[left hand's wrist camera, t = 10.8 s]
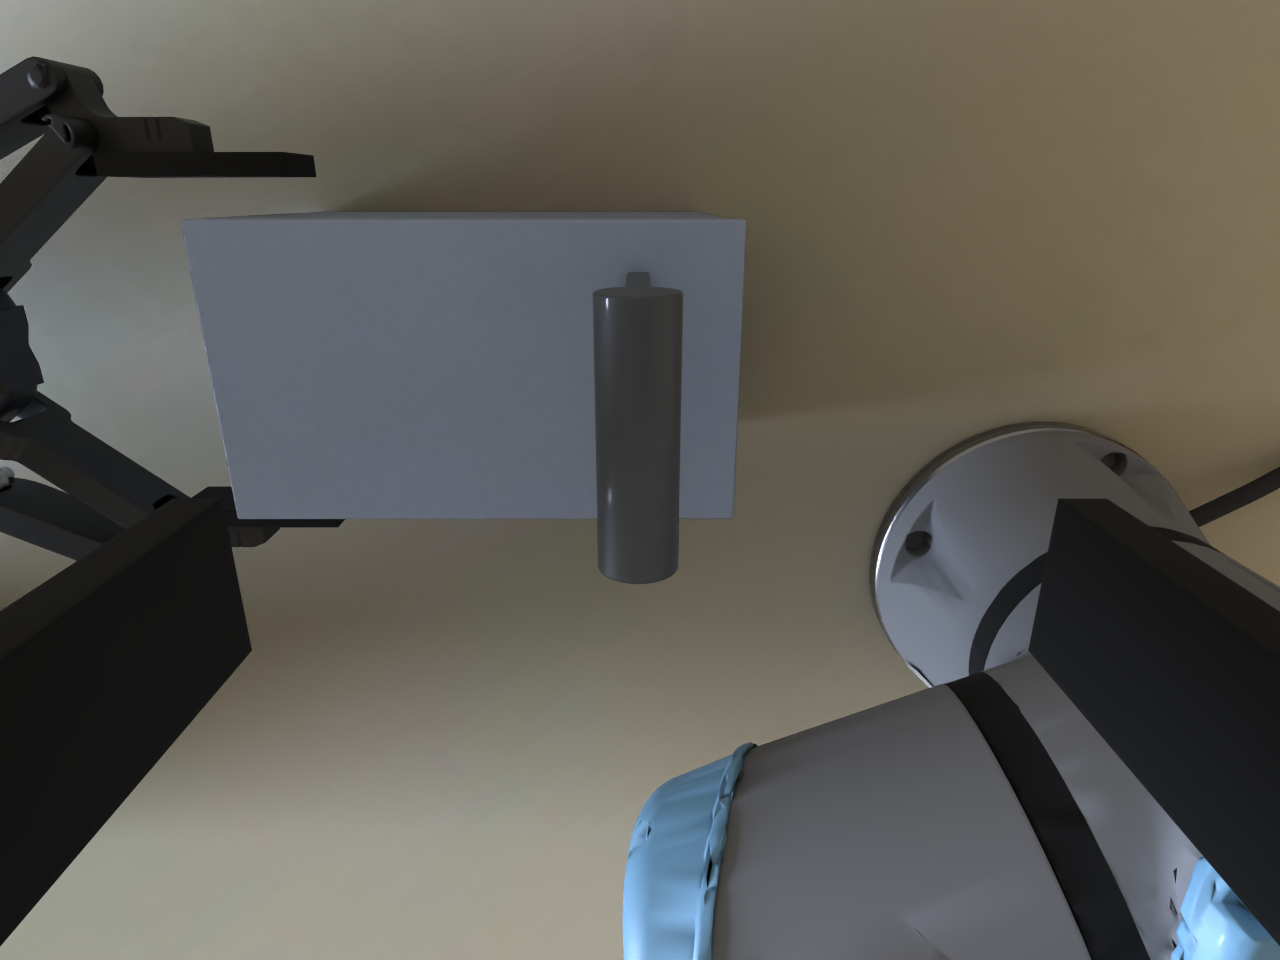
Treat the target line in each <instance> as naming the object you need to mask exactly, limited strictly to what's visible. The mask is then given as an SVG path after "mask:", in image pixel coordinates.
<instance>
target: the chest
mask: <svg viewBox="0 0 1280 960" xmlns="http://www.w3.org/2000/svg"><path fill="white" fill-rule="evenodd" d="M204 219H724V218H720V217H717V216H713V215H710V214H707V213H703V212H307V213H290V214H272V215H255V216H237V217H219V218H204Z"/></svg>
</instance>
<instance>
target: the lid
mask: <svg viewBox="0 0 1280 960" xmlns="http://www.w3.org/2000/svg"><path fill="white" fill-rule="evenodd" d="M181 225H182V231H183V236H184V241H185V246H186V251H187V257H188V262H189V267H190V272H191V277H192V283H193V288H194V293H195V298H196V304H197V309H198V314H199V319H200V324H201V330H202V335H203V340H204V345H205V350H206V356H207V361H208V366H209V371H210V376H211V382H212V387H213V392H214V397H215V402H216V408H217V413H218V418H219V423H220V428H221V434H222V439H223V444H224V449H225V454H226V460H227V465H228V470H229V475H230V480H231V486H232V491H233V496H234V501H235V507H236V512H237V517H238V519H597V532H598V567H599V570H600V571H601V573H602V574H603V575H605V576H606V577H608V578H610V579H612V580H615V581H618V582H622V583H629V584H647V583H654V582H658V581H661V580H664V579H667V578H669V577H670V576H672V575H673V574H674V573H675V572H676V570H677V568H678V547H679V519H731V518H733V513H734V490H735V468H736V445H737V423H738V400H739V378H740V355H741V333H742V311H743V288H744V266H745V243H746V220H743V219H186V220H182V221H181Z"/></svg>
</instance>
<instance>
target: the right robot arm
mask: <svg viewBox="0 0 1280 960" xmlns="http://www.w3.org/2000/svg"><path fill="white" fill-rule="evenodd" d="M102 95H103V84H102V82H101V80H100V78H99V77H98V75H97V74H96V73H95V72H93V71H92V70H90V69H88V68H83V67H79V66H75V65H70V64H66V63H61V62H57V61H53V60H48V59H44V58H39V57H30V58H27V59H25V60H23V61H22V62H20V63H19V64H17V65H15V66H14V67H12V68H10V69H9V70H7V71H5V72H4V73H2V74H0V160H1V159H2V158H4V157H6V156H7V155H9V154H11V153H12V152H14V151H16V150H18V149H19V148H21V147H23V146H24V145H26V144H28V143H29V142H31V141H33V140H35V139H36V138H38V137H40V136H41V135H43V134H44V135H43V137H42V138H41V139H40V140H39V141H38V142H37V143H36V144H35V146H34V147H33V148H32V149H31V150H30V151H29V152H28V153H27V155H26V156H25V157H24V158H23V159H22V160H21V161H20V162H19V164H18V165H17V166H16V167H15V168H14V169H13V170H12V171H11V172H10V174H9V175H8V176H7V177H6V178H5V179H4V180H3V181H2V183H1V184H0V459H2V460H13V461H17V462H19V463H20V464H22V465H24V466H25V467H27V468H28V469H30V470H32V471H33V472H35V473H37V474H38V475H40V476H41V477H43V478H45V479H46V480H48V481H49V482H51V483H53V484H54V485H56V486H57V487H59V488H61V489H62V490H64V491H65V492H67V493H69V494H67V493H65V492H62V491H60V490H57V489H55V488H52V487H49V486H47V485H44V484H41V483H38V482H35V481H30V480H26V479H20V478H14V472H13V470H12V469H11V468H9V467H2V468H0V532H2V533H5V534H8V535H10V536H13V537H16V538H18V539H21V540H24V541H26V542H29V543H32V544H34V545H37V546H39V547H42V548H45V549H47V550H50V551H53V552H55V553H58V554H61V555H63V556H66V557H69V558H71V559H74V560H77V561H78V560H80V559H81V558H83V557H84V556H86V555H87V554H89V553H90V552H92V551H93V550H95V549H97V548H98V547H100V546H101V545H103V544H104V543H106V542H107V541H109V540H110V539H112V538H113V537H115V536H116V535H118V534H120V533H121V532H123V531H124V530H126V529H127V528H129V527H130V526H132V525H133V524H135V523H136V522H138V521H139V520H141V519H142V518H144V517H146V516H147V515H149V514H150V513H152V512H153V511H155V510H156V509H158V508H159V507H161V506H162V505H164V504H165V503H167V502H169V501H170V500H172V499H222V502H223V507H224V512H225V517H226V522H227V527H228V532H229V537H230V543H231V547H240V546H241V547H255V546H258V545H260V544H263V543H265V542H266V541H268V540H269V539H270V538H271V537H272V536H273V535H274V534H275V533H276V532H277V531H278V530H279V529H280V527H339V526H340V524H341V523H342V522H343V521H344V520H345V519H238V517H237V512H236V507H235V501H234V496H233V491H232V487H207V488H205V489H204V490H202V491H201V492H200V493H198V494H197V495H195V496H194V497H192V498H190V497H188V496H187V495H185V494H184V493H182V492H180V491H179V490H177V489H176V488H174V487H173V486H171V485H170V484H168V483H166V482H165V481H163V480H162V479H160V478H159V477H157V476H156V475H154V474H152V473H151V472H149V471H148V470H146V469H145V468H143V467H142V466H140V465H138V464H137V463H135V462H134V461H132V460H131V459H129V458H128V457H126V456H124V455H123V454H121V453H120V452H118V451H117V450H115V449H114V448H112V447H110V446H109V445H107V444H106V443H104V442H103V441H101V440H100V439H98V438H96V437H95V436H93V435H92V434H90V433H89V432H87V431H86V430H84V429H82V428H81V427H79V426H78V425H76V424H75V423H73V422H72V421H71V414H70V413H69V412H68V411H67V410H66V409H65V408H63V407H61V406H60V405H58V404H57V403H55V402H54V401H52V400H51V399H49V398H48V397H46V396H44V395H43V394H41V393H40V392H38V391H37V385H38V384H41V383H44V381H43V377H42V373H41V369H40V366H39V363H38V361H37V359H36V358H35V356H34V354H33V352H32V350H31V348H30V346H29V341H28V321H27V318H26V314H25V310H24V307H23V305H22V306H16V305H15V303H14V302H13V300H12V299H11V297H10V296H9V295H8V294H7V293H8V291H9V290H10V289H11V288H12V287H13V286H14V285H15V284H16V283H17V282H18V281H19V280H20V279H21V278H22V277H23V275H24V274H25V273H26V272H27V271H28V270H29V269H30V267H31V265H32V264H31V263H30V259H31V258H32V257H33V256H34V255H35V254H36V253H37V252H38V250H39V249H40V248H41V247H42V246H43V245H44V244H45V243H46V242H47V241H48V240H49V239H50V238H51V237H52V235H53V234H54V233H55V232H56V231H57V230H58V229H59V228H60V227H61V226H62V225H63V224H64V223H65V221H66V220H67V219H68V218H69V217H70V216H71V215H72V214H73V213H74V212H75V211H76V210H77V209H78V208H79V206H80V205H81V204H82V203H83V202H84V201H85V200H86V199H87V198H88V197H89V196H90V195H91V194H92V193H93V191H94V190H95V189H96V188H97V187H98V186H99V185H100V184H101V183H102V182H103V181H104V180H105V179H106V177H107V176H109V177H140V178H191V177H316V171H315V164H314V157H313V156H312V155H304V154H295V153H287V152H214V148H213V143H212V137H211V131H210V127H209V126H207V125H205V124H202V123H200V122H197V121H194V120H188V119H182V118H176V117H117V116H116V115H114V114H113V113H112V112H111V111H110V109H109V108H108V106H107V105H106V103H105V101H104V99H103V98H102ZM16 416H18V417H19V418H21V420H18V421H15V422H10V421H11V420H12V419H13V418H15V417H16ZM9 422H10V423H9Z"/></svg>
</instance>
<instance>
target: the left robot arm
mask: <svg viewBox="0 0 1280 960" xmlns="http://www.w3.org/2000/svg"><path fill="white" fill-rule="evenodd" d="M1279 488H1280V467H1278V468H1277V469H1275V470H1273V471H1271V472H1269V473H1267V474H1265V475H1263V476H1262V477H1260V478H1258V479H1256V480H1254V481H1252V482H1250V483H1248V484H1246V485H1244V486H1242V487H1240V488H1238V489H1236V490H1234V491H1232V492H1230V493H1227V494H1225V495H1223V496H1221V497H1219V498H1217V499H1215V500H1213V501H1210V502H1208V503H1206V504H1204V505H1202V506H1200V507H1198V508H1196V509H1193V510H1191V511H1189V512H1188V510H1187V509H1186V507H1185V505H1184V504H1183V502H1182V501H1181V499H1180V498H1179V496H1178V495H1177V493H1176V491H1175V490H1174V488H1173V487H1172V486H1171V484H1170V483H1169V482H1168V481H1167V479H1166V478H1165V477H1164V476H1163V475H1162V474H1161V473H1160V472H1159V471H1158V470H1156V469H1155V468H1154V467H1153V466H1152V465H1151V464H1150V463H1148V462H1147V461H1146V460H1145V459H1144V458H1143V457H1141V456H1140V455H1139V454H1137V453H1136V452H1135V451H1133V450H1131V449H1130V448H1128V447H1126V446H1124V445H1123V444H1121V443H1119V442H1117V441H1115V440H1113V439H1111V438H1109V437H1107V436H1105V435H1103V434H1101V433H1098V432H1096V431H1093V430H1090V429H1087V428H1084V427H1080V426H1076V425H1071V424H1065V423H1055V422H1031V423H1020V424H1015V425H1009V426H1004V427H1001V428H997V429H993V430H990V431H987V432H984V433H981V434H979V435H976V436H974V437H971V438H969V439H967V440H965V441H963V442H961V443H959V444H957V445H955V446H954V447H952V448H950V449H949V450H947V451H945V452H944V453H942V454H941V455H940V456H938V457H937V458H935V459H934V460H933V461H931V462H930V463H929V464H928V465H926V466H925V467H924V468H923V469H922V470H921V471H920V472H919V473H918V474H917V475H916V476H915V477H914V478H913V479H911V480H910V482H909V483H908V484H907V485H906V486H905V488H904V489H903V490H902V491H901V492H900V494H899V495H898V497H897V498H896V499H895V501H894V502H893V504H892V505H891V507H890V509H889V510H888V512H887V514H886V516H885V518H884V520H883V522H882V524H881V526H880V529H879V531H878V534H877V537H876V540H875V543H874V547H873V552H872V556H871V564H870V589H871V596H872V601H873V605H874V609H875V611H876V614H877V617H878V619H879V622H880V624H881V626H882V628H883V630H884V631H885V633H886V635H887V637H888V639H889V640H890V642H891V644H892V645H893V647H894V648H895V650H896V651H897V653H898V654H899V655H900V656H901V658H902V659H903V660H904V661H905V662H906V663H907V664H908V665H907V664H906V663H905V664H906V665H907V666H908V667H909V668H910V669H911V670H912V671H913V672H914V673H915V674H916V675H917V676H918V677H919V678H920V679H921V680H922V681H923V682H924V683H925V684H926V685H927V686H928V687H929V688H928V689H925V690H922V691H919V692H916V693H913V694H910V695H908V696H905V697H902V698H899V699H896V700H893V701H890V702H887V703H884V704H881V705H878V706H875V707H872V708H869V709H866V710H863V711H861V712H858V713H855V714H852V715H849V716H846V717H843V718H840V719H837V720H834V721H831V722H828V723H825V724H822V725H819V726H816V727H813V728H811V729H808V730H805V731H802V732H799V733H796V734H793V735H790V736H787V737H784V738H781V739H778V740H775V741H772V742H769V743H766V744H763V745H761V746H757V745H756V744H753V743H751V742H749V743H746V744H743V745H741V746H740V747H738V748H737V749H736V750H735V752H734V753H733V754H732V755H730V756H727V757H725V758H722V759H720V760H717V761H715V762H712V763H710V764H707V765H705V766H702V767H700V768H697V769H695V770H692V771H690V772H687V773H685V774H682V775H680V776H677V777H675V778H673V779H671V780H669V781H667V782H665V783H664V784H663V785H661V786H660V787H659V788H658V789H657V790H656V791H655V792H654V793H653V794H652V795H651V796H650V797H649V799H648V800H647V802H646V803H645V805H644V807H643V808H642V810H641V812H640V814H639V816H638V819H637V821H636V824H635V827H634V830H633V834H632V837H631V842H630V847H629V854H628V862H627V865H626V871H625V881H624V897H623V947H624V960H1280V587H1278V586H1277V585H1275V584H1273V583H1272V582H1270V581H1268V580H1267V579H1265V578H1263V577H1262V576H1260V575H1258V574H1257V573H1255V572H1253V571H1252V570H1250V569H1248V568H1247V567H1245V566H1243V565H1241V564H1240V563H1238V562H1237V561H1235V560H1233V559H1231V558H1230V557H1228V556H1226V555H1225V554H1223V553H1222V552H1220V551H1218V550H1217V549H1215V548H1213V547H1212V546H1210V544H1209V543H1208V541H1207V540H1206V538H1205V536H1204V535H1203V533H1202V532H1201V530H1200V529H1199V527H1200V526H1202V525H1205V524H1207V523H1209V522H1211V521H1213V520H1215V519H1217V518H1219V517H1222V516H1224V515H1226V514H1228V513H1230V512H1232V511H1234V510H1236V509H1239V508H1241V507H1243V506H1245V505H1247V504H1249V503H1251V502H1253V501H1255V500H1257V499H1259V498H1261V497H1263V496H1265V495H1267V494H1269V493H1271V492H1273V491H1275V490H1277V489H1279ZM251 651H252V649H251V644H250V639H249V634H248V628H247V623H246V618H245V613H244V608H243V603H242V598H241V593H240V588H239V583H238V578H237V573H236V568H235V563H234V558H233V553H232V548H231V543H230V537H229V532H228V527H227V522H226V517H225V512H224V507H223V502H222V499H172V500H170V501H169V502H167V503H165V504H164V505H162V506H161V507H159V508H158V509H156V510H155V511H153V512H152V513H150V514H149V515H147V516H146V517H144V518H142V519H141V520H139V521H138V522H136V523H135V524H133V525H132V526H130V527H129V528H127V529H126V530H124V531H123V532H121V533H120V534H118V535H116V536H115V537H113V538H112V539H110V540H109V541H107V542H106V543H104V544H103V545H101V546H100V547H98V548H97V549H95V550H93V551H92V552H90V553H89V554H87V555H86V556H84V557H83V558H81V559H80V560H78V561H77V562H75V563H74V564H72V565H71V566H69V567H67V568H66V569H64V570H63V571H61V572H60V573H58V574H57V575H55V576H54V577H52V578H51V579H49V580H48V581H46V582H44V583H43V584H41V585H40V586H38V587H37V588H35V589H34V590H32V591H31V592H29V593H28V594H26V595H25V596H23V597H22V598H20V599H18V600H17V601H15V602H14V603H12V604H11V605H9V606H8V607H6V608H5V609H3V610H2V611H0V946H1V945H2V944H3V943H4V941H5V940H6V939H7V938H8V937H9V936H10V934H11V933H12V932H13V931H14V930H15V928H16V927H17V926H18V925H19V924H20V923H21V921H22V920H23V919H24V918H25V917H26V915H27V914H28V913H29V912H30V911H31V910H32V908H33V907H34V906H35V905H36V904H37V903H38V901H39V900H40V899H41V898H42V897H43V895H44V894H45V893H46V892H47V891H48V890H49V888H50V887H51V886H52V885H53V884H54V883H55V881H56V880H57V879H58V878H59V877H60V875H61V874H62V873H63V872H64V871H65V870H66V868H67V867H68V866H69V865H70V864H71V863H72V861H73V860H74V859H75V858H76V857H77V855H78V854H79V853H80V852H81V851H82V850H83V848H84V847H85V846H86V845H87V844H88V843H89V841H90V840H91V839H92V838H93V837H94V835H95V834H96V833H97V832H98V831H99V830H100V828H101V827H102V826H103V825H104V824H105V823H106V821H107V820H108V819H109V818H110V817H111V815H112V814H113V813H114V812H115V811H116V810H117V808H118V807H119V806H120V805H121V804H122V803H123V801H124V800H125V799H126V798H127V797H128V795H129V794H130V793H131V792H132V791H133V790H134V788H135V787H136V786H137V785H138V784H139V783H140V781H141V780H142V779H143V778H144V777H145V775H146V774H147V773H148V772H149V771H150V770H151V768H152V767H153V766H154V765H155V764H156V763H157V761H158V760H159V759H160V758H161V757H162V755H163V754H164V753H165V752H166V751H167V750H168V748H169V747H170V746H171V745H172V744H173V743H174V741H175V740H176V739H177V738H178V737H179V735H180V734H181V733H182V732H183V731H184V730H185V728H186V727H187V726H188V725H189V724H190V723H191V721H192V720H193V719H194V718H195V717H196V715H197V714H198V713H199V712H200V711H201V710H202V708H203V707H204V706H205V705H206V704H207V703H208V701H209V700H210V699H211V698H212V697H213V695H214V694H215V693H216V692H217V691H218V690H219V688H220V687H221V686H222V685H223V684H224V683H225V681H226V680H227V679H228V678H229V677H230V675H231V674H232V673H233V672H234V671H235V670H236V668H237V667H238V666H239V665H240V664H241V663H242V661H243V660H244V659H245V658H246V657H247V655H248V654H249V653H250V652H251Z"/></svg>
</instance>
